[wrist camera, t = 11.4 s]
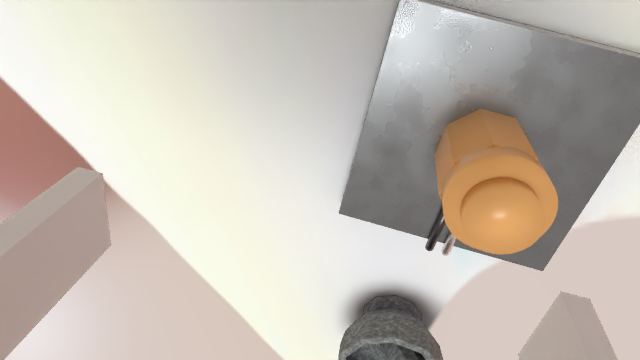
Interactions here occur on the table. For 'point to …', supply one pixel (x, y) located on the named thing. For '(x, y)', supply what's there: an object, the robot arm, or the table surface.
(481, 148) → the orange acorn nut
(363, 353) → the mortar and pestle
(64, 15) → the table surface
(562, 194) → the junction plate
